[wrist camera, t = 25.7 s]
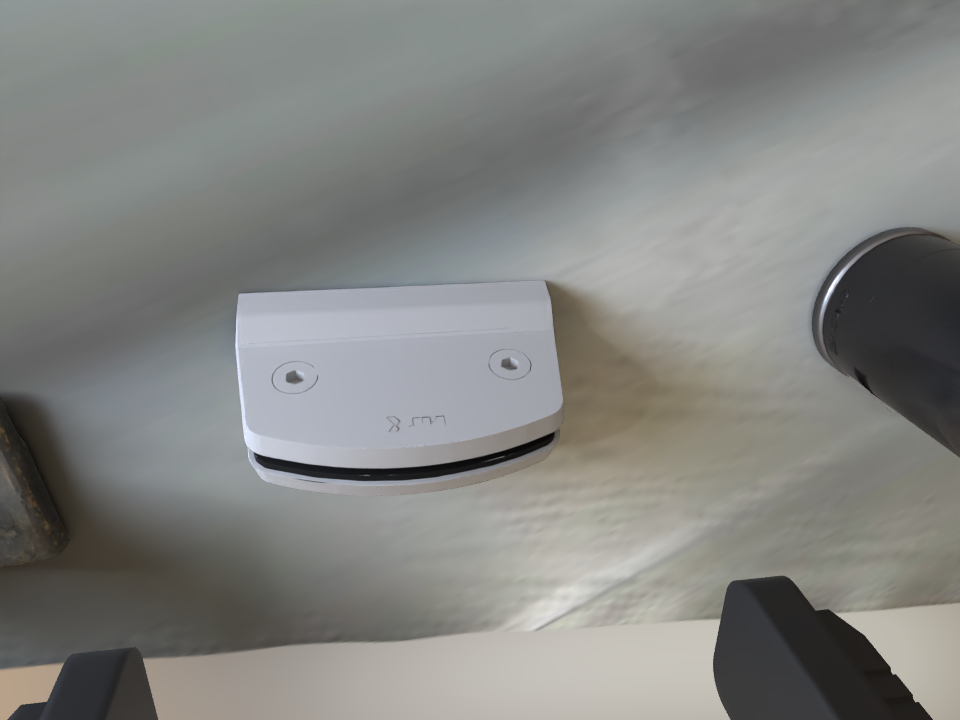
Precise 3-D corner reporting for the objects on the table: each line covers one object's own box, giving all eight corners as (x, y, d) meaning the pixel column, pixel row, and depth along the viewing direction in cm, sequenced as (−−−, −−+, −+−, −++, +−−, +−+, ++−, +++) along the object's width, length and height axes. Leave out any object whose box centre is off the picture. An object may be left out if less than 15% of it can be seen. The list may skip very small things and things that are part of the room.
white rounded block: (551, 279, 40) (601, 421, 33) (540, 342, 43) (583, 483, 37) (230, 293, 37) (211, 450, 31) (244, 359, 41) (230, 514, 34)
